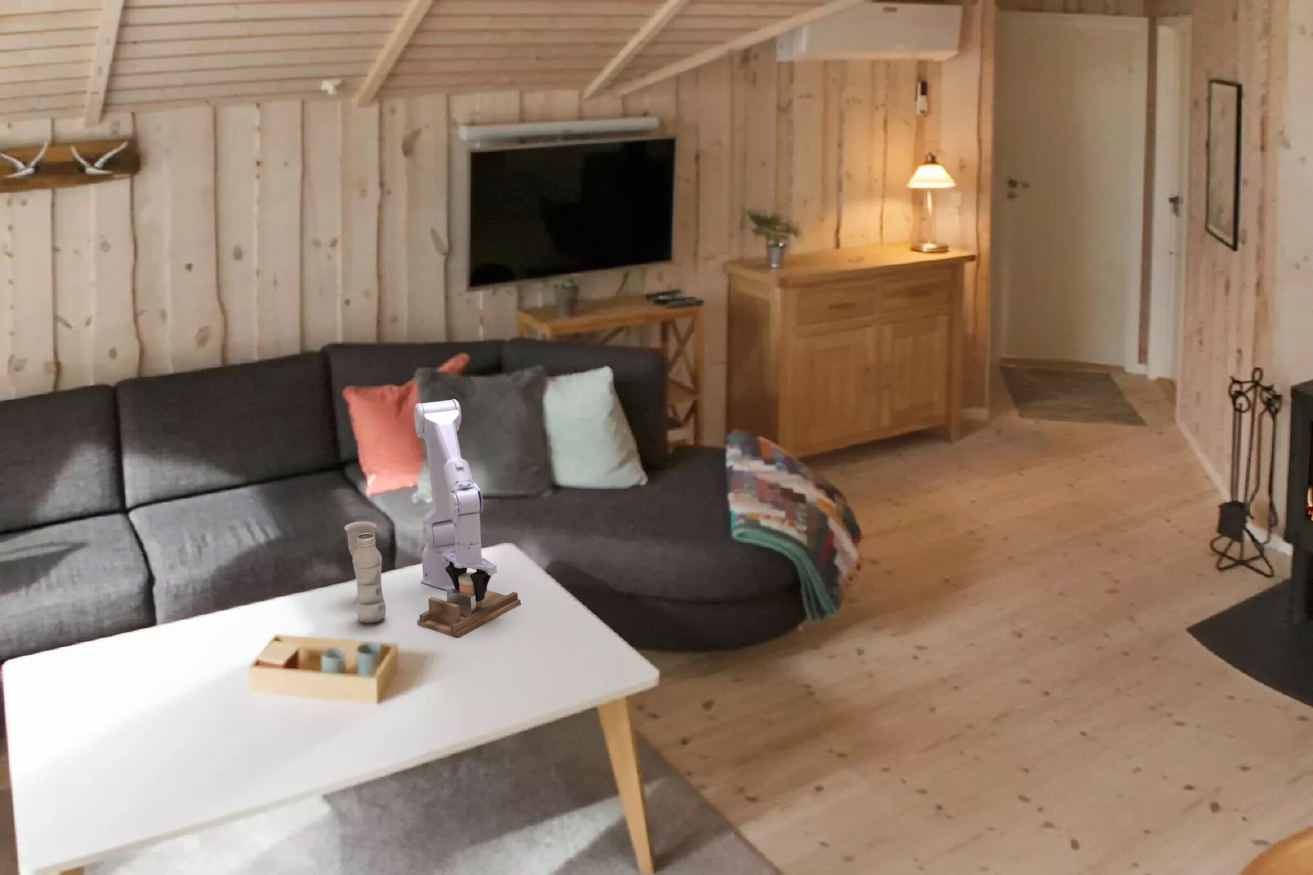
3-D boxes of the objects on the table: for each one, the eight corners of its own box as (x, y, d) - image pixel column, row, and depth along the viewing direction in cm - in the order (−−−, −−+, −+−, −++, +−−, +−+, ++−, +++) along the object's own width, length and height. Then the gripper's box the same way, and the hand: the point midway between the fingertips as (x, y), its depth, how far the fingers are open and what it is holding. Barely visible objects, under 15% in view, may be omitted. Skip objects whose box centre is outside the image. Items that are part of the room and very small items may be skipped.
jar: (454, 606, 296) (453, 578, 293) (470, 598, 300) (469, 570, 298) (472, 612, 293) (471, 583, 291) (487, 604, 297) (486, 575, 295)
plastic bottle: (390, 614, 296) (384, 531, 290) (381, 627, 290) (375, 542, 284) (362, 613, 297) (356, 530, 291) (352, 626, 290) (346, 541, 284)
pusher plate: (447, 610, 295) (446, 590, 294) (452, 608, 296) (450, 587, 295) (471, 618, 291) (470, 597, 290) (476, 615, 292) (475, 595, 291)
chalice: (344, 604, 302) (338, 530, 296) (359, 592, 308) (353, 520, 302) (373, 607, 300) (367, 533, 294) (387, 596, 306) (382, 523, 300)
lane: (417, 624, 291) (415, 599, 289) (480, 592, 308) (479, 568, 306) (458, 637, 285) (456, 612, 283) (520, 603, 301) (519, 579, 300)
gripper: (431, 539, 292) (434, 596, 296) (480, 553, 284) (483, 611, 288) (452, 529, 298) (455, 585, 302) (502, 543, 290) (504, 599, 294)
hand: (470, 597), depth 295 cm, fingers closed on jar, 5 cm apart
